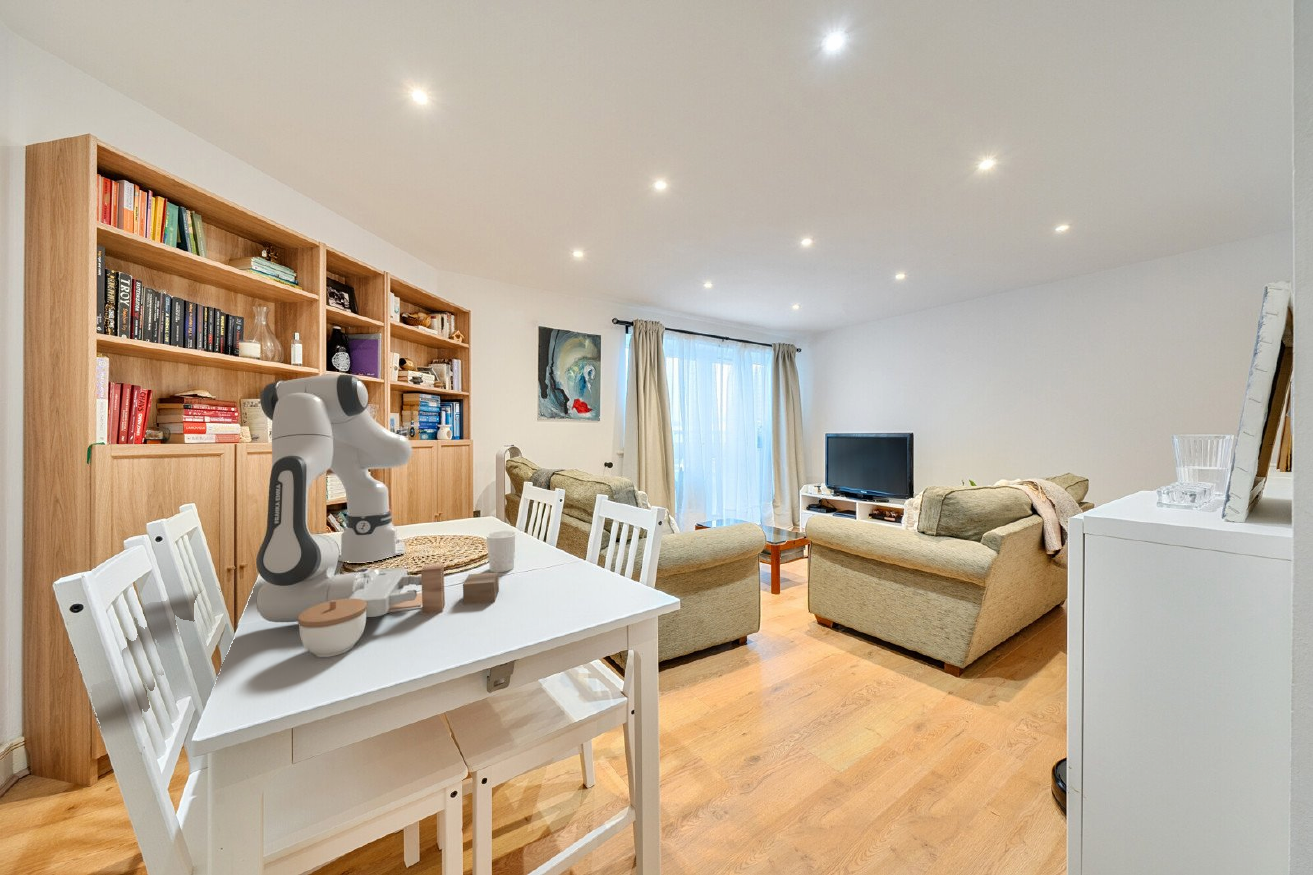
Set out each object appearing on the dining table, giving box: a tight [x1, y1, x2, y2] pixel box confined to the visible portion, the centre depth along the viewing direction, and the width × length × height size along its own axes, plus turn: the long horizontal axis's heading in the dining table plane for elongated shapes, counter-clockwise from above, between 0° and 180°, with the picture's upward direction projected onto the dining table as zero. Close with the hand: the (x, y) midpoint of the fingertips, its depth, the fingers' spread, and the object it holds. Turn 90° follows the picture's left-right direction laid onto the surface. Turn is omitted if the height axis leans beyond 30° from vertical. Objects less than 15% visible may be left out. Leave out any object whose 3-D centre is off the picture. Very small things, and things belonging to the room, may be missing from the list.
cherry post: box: [420, 562, 446, 615], centre depth 106 cm, size 4×4×10 cm
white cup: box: [486, 530, 516, 573], centre depth 133 cm, size 8×8×10 cm
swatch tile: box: [387, 592, 422, 613], centre depth 109 cm, size 9×9×1 cm
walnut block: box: [462, 572, 500, 606], centre depth 112 cm, size 7×7×5 cm
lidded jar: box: [297, 599, 367, 658], centre depth 88 cm, size 11×11×9 cm
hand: (420, 587), depth 105 cm, fingers open, 8 cm apart
